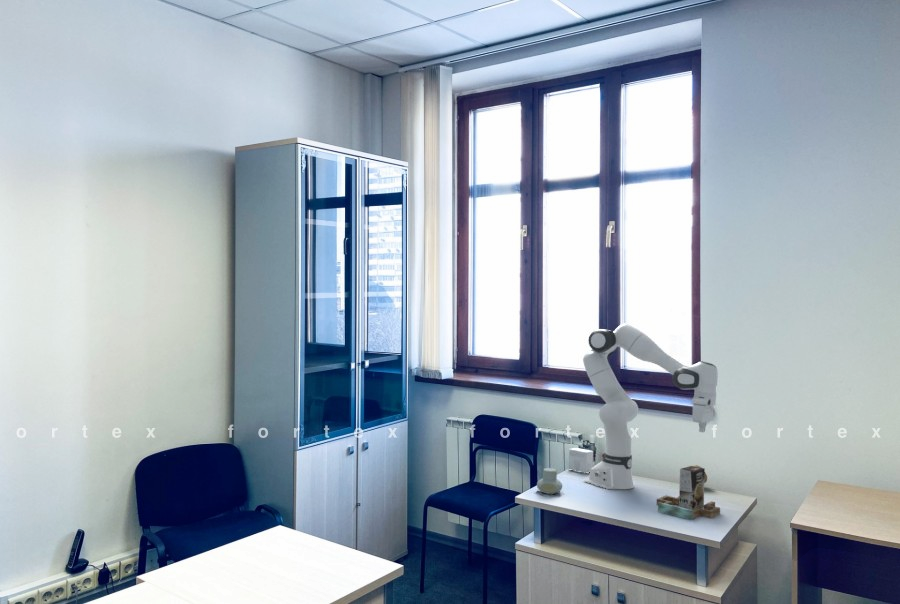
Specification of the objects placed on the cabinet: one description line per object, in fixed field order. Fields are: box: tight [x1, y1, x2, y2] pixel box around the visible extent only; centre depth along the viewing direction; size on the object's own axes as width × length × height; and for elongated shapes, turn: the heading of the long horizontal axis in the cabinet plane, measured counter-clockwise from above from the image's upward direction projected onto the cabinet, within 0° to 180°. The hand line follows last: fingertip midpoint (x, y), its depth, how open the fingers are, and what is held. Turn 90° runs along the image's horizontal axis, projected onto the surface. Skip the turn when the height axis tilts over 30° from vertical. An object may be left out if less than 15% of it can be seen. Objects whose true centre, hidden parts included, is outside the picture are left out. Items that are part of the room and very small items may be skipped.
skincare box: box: [568, 447, 594, 473], centre depth 335 cm, size 10×6×10 cm, turn 44°
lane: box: [656, 494, 721, 521], centre depth 274 cm, size 23×22×4 cm
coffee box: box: [678, 465, 706, 510], centre depth 278 cm, size 9×6×16 cm
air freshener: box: [536, 467, 563, 495], centre depth 296 cm, size 11×8×10 cm
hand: (702, 432), depth 292 cm, fingers closed
